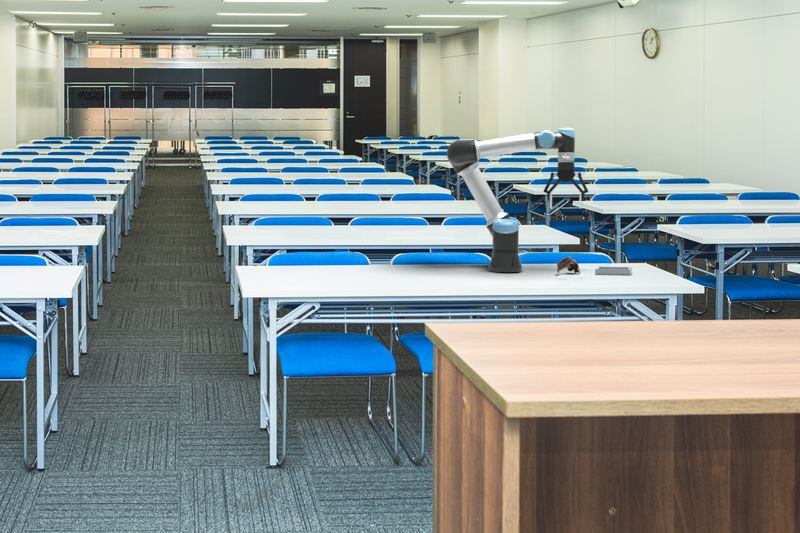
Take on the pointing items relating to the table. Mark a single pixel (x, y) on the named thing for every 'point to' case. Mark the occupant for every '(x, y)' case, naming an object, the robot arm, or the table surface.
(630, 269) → the tray
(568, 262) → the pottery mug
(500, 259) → the robot arm
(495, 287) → the table surface
